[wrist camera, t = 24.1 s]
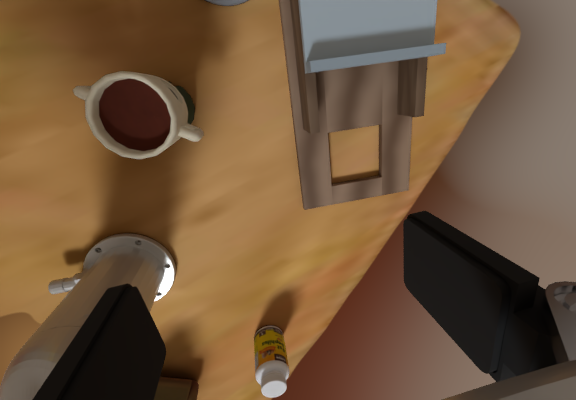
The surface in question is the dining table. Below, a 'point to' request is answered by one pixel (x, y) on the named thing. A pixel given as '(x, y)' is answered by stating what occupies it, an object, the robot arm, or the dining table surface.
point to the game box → (350, 117)
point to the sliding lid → (366, 32)
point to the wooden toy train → (176, 389)
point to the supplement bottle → (271, 361)
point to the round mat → (226, 2)
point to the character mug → (138, 113)
